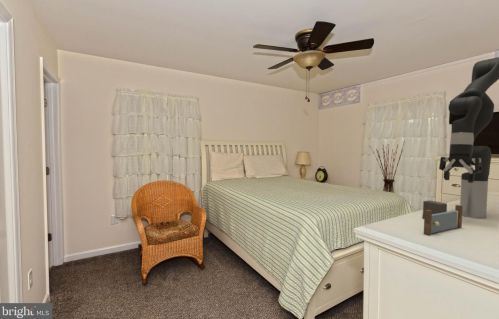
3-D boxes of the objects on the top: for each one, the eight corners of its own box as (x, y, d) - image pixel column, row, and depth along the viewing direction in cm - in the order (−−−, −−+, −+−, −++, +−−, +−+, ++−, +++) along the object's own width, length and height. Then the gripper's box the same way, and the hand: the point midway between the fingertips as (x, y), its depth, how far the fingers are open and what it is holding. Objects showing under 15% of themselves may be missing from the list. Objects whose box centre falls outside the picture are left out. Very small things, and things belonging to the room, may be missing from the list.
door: (454, 226, 97) (455, 210, 97) (462, 228, 95) (463, 212, 95) (427, 232, 90) (428, 215, 90) (435, 234, 88) (436, 217, 88)
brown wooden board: (456, 226, 98) (457, 204, 98) (461, 227, 97) (462, 205, 96) (423, 234, 90) (424, 210, 89) (428, 235, 88) (429, 211, 88)
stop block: (428, 217, 111) (429, 200, 111) (446, 221, 105) (447, 203, 105) (422, 218, 110) (423, 201, 109) (439, 223, 103) (440, 204, 103)
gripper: (487, 144, 98) (483, 183, 99) (447, 144, 112) (444, 179, 112) (477, 143, 96) (473, 183, 96) (437, 143, 109) (434, 179, 109)
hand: (458, 181), depth 104 cm, fingers open, 8 cm apart
